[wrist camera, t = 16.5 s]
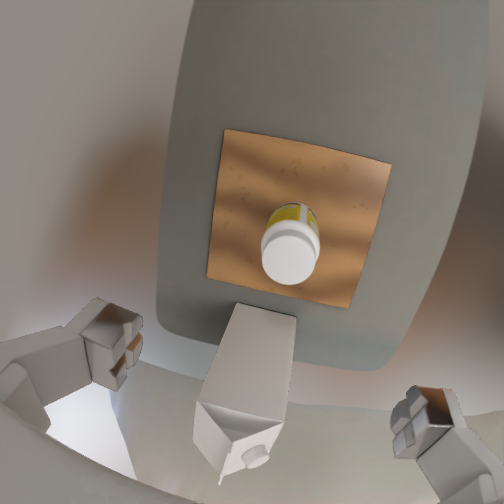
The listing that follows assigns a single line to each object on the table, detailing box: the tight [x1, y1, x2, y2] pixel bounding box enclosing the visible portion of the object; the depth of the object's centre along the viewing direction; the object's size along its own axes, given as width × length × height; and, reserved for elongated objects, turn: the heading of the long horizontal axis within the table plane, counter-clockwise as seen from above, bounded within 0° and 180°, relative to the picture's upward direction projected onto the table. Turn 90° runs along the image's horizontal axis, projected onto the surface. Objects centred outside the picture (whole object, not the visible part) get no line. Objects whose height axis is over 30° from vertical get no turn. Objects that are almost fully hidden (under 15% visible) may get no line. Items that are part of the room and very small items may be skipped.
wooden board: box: [207, 129, 392, 309], centre depth 31 cm, size 16×16×1 cm
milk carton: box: [193, 303, 297, 486], centre depth 28 cm, size 7×7×19 cm
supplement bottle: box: [261, 202, 320, 285], centre depth 27 cm, size 5×5×8 cm
